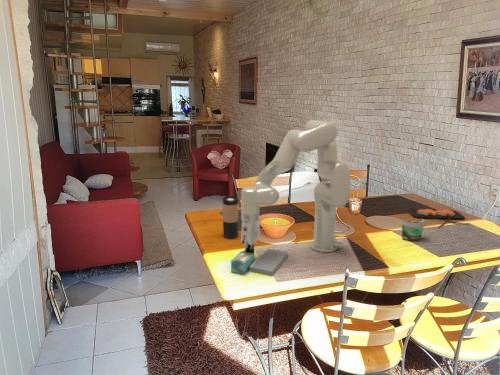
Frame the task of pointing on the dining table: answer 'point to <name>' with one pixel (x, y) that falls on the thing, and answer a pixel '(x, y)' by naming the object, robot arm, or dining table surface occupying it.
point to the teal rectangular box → (242, 262)
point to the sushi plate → (437, 214)
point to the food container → (412, 230)
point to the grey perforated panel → (268, 262)
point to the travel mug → (230, 217)
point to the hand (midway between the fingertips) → (249, 256)
